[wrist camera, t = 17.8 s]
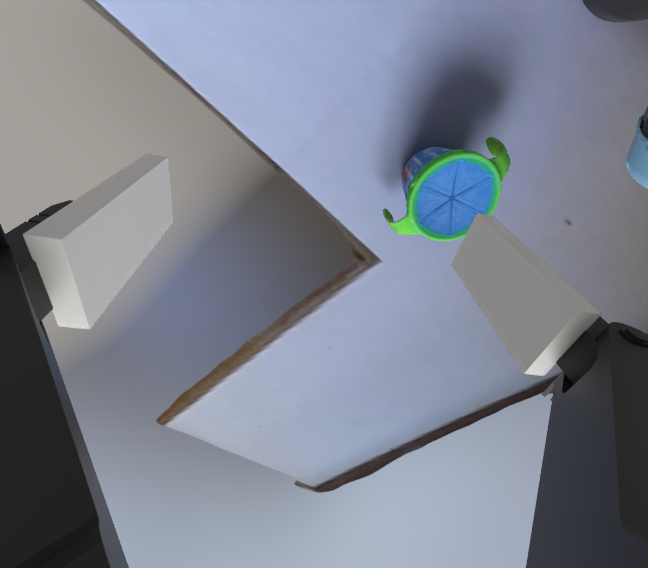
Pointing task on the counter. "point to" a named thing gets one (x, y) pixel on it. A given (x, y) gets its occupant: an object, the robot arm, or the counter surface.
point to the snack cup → (450, 190)
